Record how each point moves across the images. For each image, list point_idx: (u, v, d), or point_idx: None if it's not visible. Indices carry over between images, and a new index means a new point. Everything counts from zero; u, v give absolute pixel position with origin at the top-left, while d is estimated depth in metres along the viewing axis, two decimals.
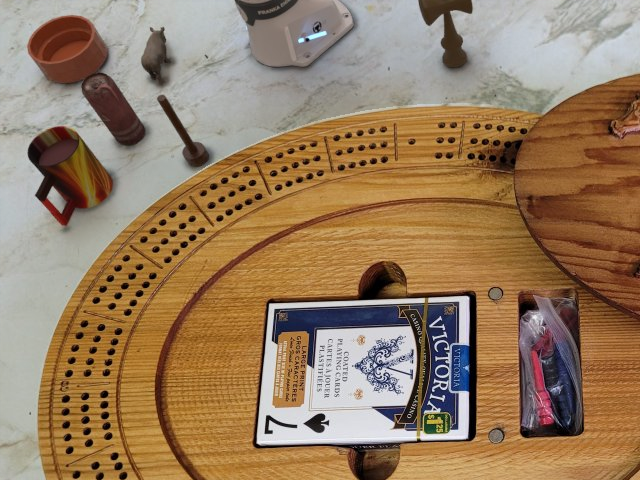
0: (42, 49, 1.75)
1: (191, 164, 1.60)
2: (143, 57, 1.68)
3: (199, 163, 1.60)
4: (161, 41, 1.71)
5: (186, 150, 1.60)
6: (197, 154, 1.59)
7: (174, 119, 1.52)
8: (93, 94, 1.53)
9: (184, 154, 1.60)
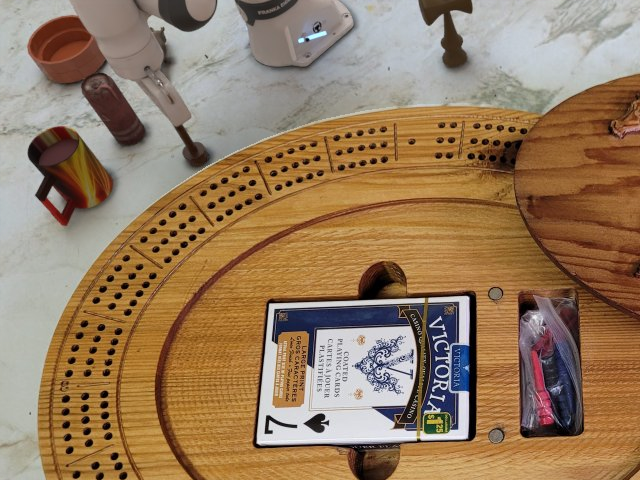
0: (42, 49, 1.75)
1: (191, 164, 1.60)
2: None
3: (199, 163, 1.60)
4: (161, 41, 1.71)
5: (186, 150, 1.60)
6: (197, 154, 1.59)
7: None
8: (93, 94, 1.53)
9: (184, 154, 1.60)
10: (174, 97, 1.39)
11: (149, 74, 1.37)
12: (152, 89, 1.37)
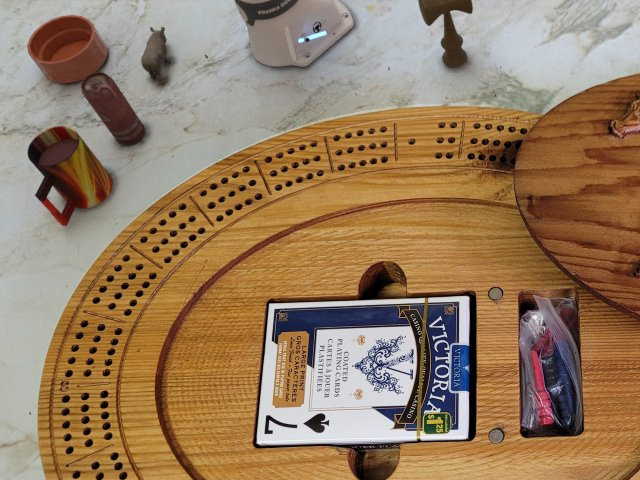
0: (42, 49, 1.75)
1: None
2: (143, 57, 1.68)
3: None
4: (161, 41, 1.71)
5: None
6: None
7: None
8: (93, 94, 1.53)
9: None
10: None
11: None
12: None
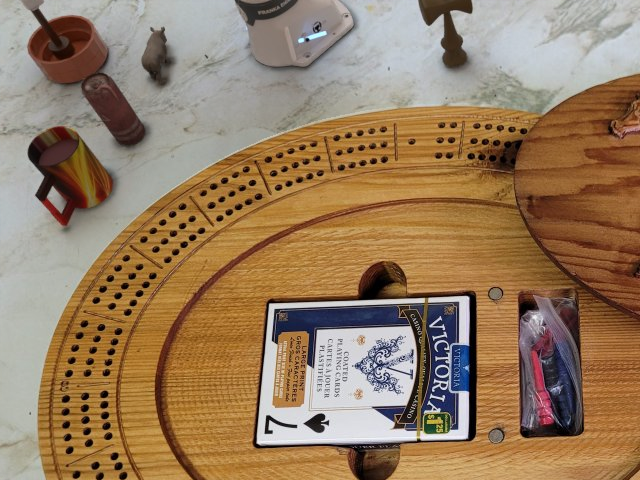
0: (42, 49, 1.75)
1: (56, 56, 1.74)
2: (143, 57, 1.68)
3: (64, 55, 1.74)
4: (161, 41, 1.71)
5: (52, 43, 1.74)
6: (61, 47, 1.73)
7: (34, 10, 1.65)
8: (93, 94, 1.53)
9: (50, 46, 1.73)
10: None
11: None
12: None
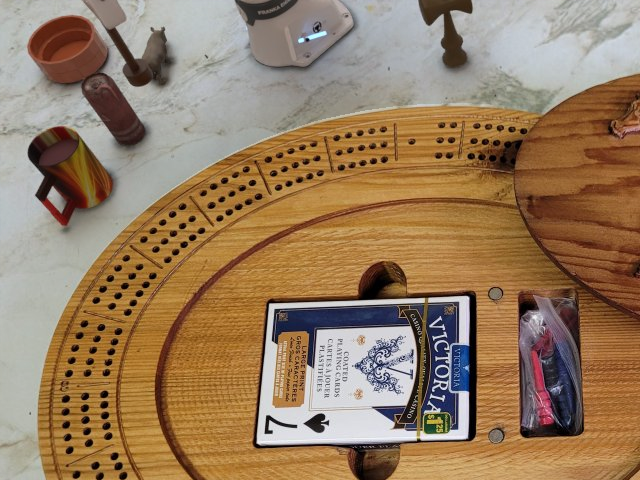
0: (42, 49, 1.75)
1: (132, 83, 1.45)
2: (143, 57, 1.68)
3: (141, 82, 1.45)
4: (161, 41, 1.71)
5: (127, 67, 1.44)
6: (138, 72, 1.44)
7: None
8: (93, 94, 1.53)
9: (124, 71, 1.44)
10: None
11: None
12: None
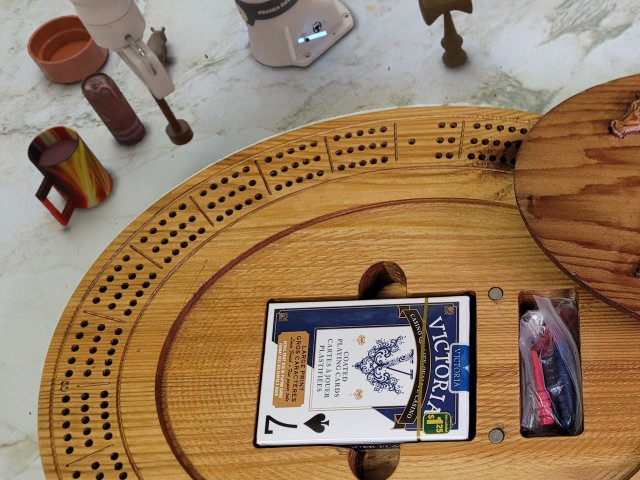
0: (42, 49, 1.75)
1: (174, 142, 1.55)
2: None
3: (183, 141, 1.54)
4: (162, 41, 1.71)
5: (169, 127, 1.54)
6: (181, 132, 1.53)
7: None
8: (93, 94, 1.53)
9: (167, 131, 1.54)
10: (156, 67, 1.33)
11: (130, 43, 1.31)
12: (133, 59, 1.31)
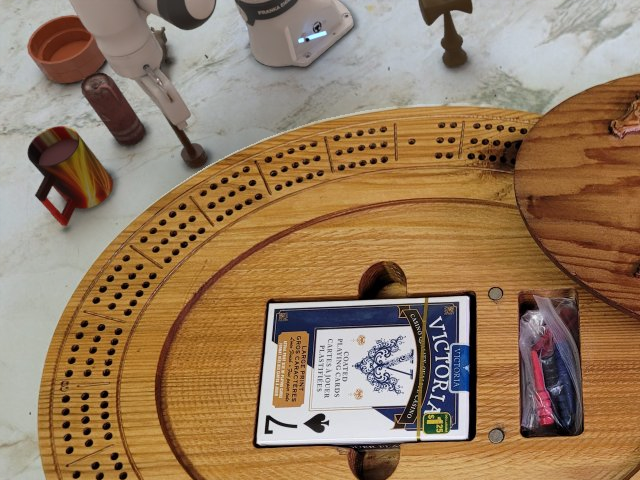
0: (42, 49, 1.75)
1: (189, 165, 1.60)
2: None
3: (197, 164, 1.60)
4: (162, 41, 1.71)
5: (184, 151, 1.60)
6: (195, 156, 1.59)
7: None
8: (93, 94, 1.53)
9: (183, 155, 1.59)
10: (173, 96, 1.38)
11: (148, 72, 1.36)
12: (151, 88, 1.37)
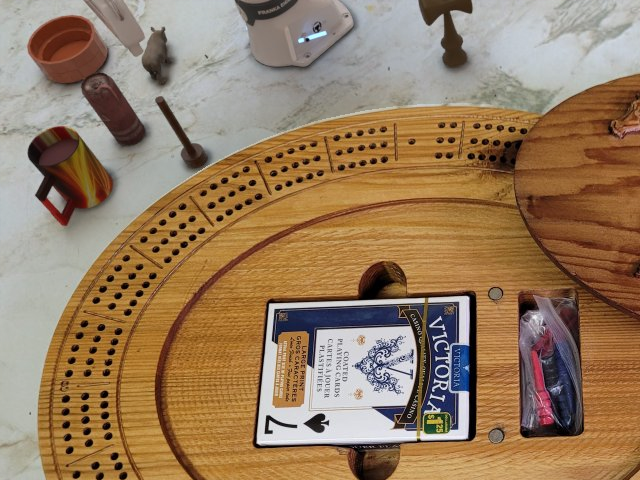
0: (42, 49, 1.75)
1: (189, 165, 1.60)
2: (143, 57, 1.68)
3: (197, 164, 1.60)
4: (162, 41, 1.71)
5: (184, 151, 1.60)
6: (195, 156, 1.59)
7: (172, 121, 1.51)
8: (93, 94, 1.53)
9: (183, 155, 1.59)
10: (123, 12, 1.23)
11: None
12: (98, 2, 1.22)
